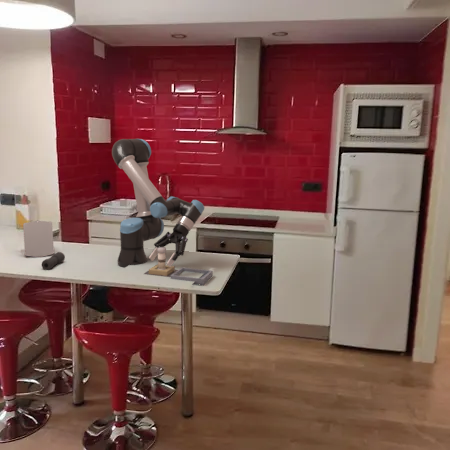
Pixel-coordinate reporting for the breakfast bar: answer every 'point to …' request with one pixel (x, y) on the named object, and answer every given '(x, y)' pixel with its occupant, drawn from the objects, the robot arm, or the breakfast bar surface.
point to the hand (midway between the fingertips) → (159, 262)
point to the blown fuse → (161, 258)
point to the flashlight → (53, 260)
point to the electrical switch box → (38, 238)
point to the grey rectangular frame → (201, 280)
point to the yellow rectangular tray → (161, 271)
